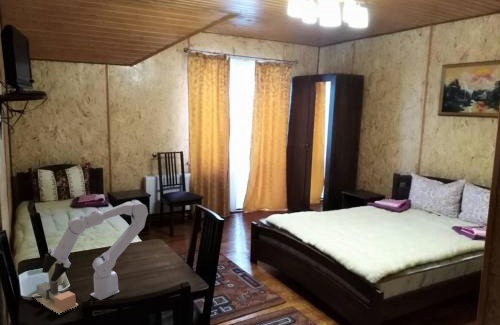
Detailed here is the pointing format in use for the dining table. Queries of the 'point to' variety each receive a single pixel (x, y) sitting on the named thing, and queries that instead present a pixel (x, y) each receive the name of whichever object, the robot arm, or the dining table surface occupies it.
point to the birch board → (51, 304)
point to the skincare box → (51, 271)
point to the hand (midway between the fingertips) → (48, 276)
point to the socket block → (64, 300)
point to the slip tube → (53, 290)
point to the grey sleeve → (43, 289)
